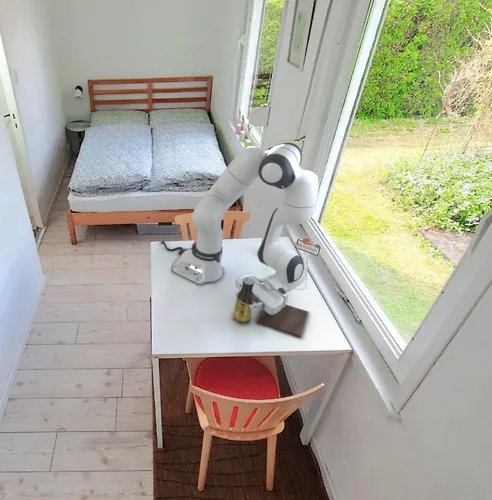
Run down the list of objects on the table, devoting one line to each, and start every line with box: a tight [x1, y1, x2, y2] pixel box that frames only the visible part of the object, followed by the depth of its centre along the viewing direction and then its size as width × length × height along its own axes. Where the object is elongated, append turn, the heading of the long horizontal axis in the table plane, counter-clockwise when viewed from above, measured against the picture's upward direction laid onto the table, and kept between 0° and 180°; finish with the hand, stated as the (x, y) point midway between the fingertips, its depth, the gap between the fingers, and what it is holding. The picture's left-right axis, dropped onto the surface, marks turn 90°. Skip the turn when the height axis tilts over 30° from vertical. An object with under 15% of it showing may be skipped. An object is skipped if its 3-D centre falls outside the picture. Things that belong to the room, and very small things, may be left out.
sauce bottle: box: [233, 277, 254, 324], centre depth 144 cm, size 7×6×20 cm
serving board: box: [256, 304, 309, 338], centre depth 149 cm, size 16×14×1 cm
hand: (242, 301), depth 143 cm, fingers closed on sauce bottle, 6 cm apart
